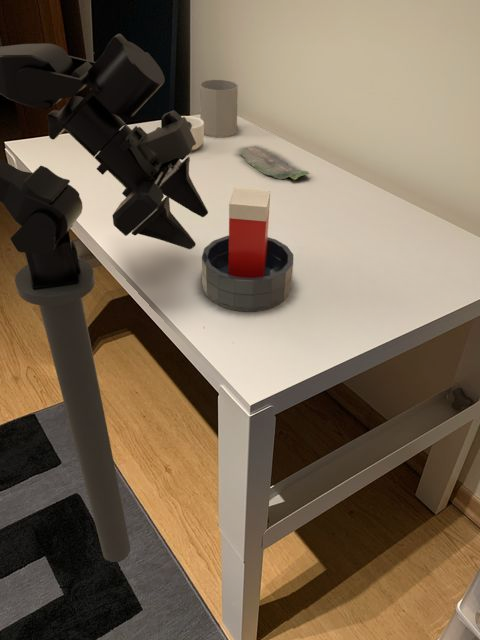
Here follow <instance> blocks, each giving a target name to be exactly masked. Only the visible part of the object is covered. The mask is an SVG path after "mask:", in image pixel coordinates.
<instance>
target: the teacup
mask: <svg viewBox="0 0 480 640" xmlns="http://www.w3.org/2000/svg"><path fill="white" fill-rule="evenodd" d="M180 116H181V117H182V118H183V117H185V118H186V120H187V122H190V123H191V124H192V128H191V129H190V131H191V133H192V135H193V137H194V140H195V142H196V144H195V145H193V147H192V152H193V151H196V150H197V149H198V148H200V147H201V146H202V144H203V142H204V136H205V134H204V122H203V120H202V119H201V117H197V116H190V115H180Z"/></svg>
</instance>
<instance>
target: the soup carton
mask: <svg viewBox="0 0 480 640" xmlns="http://www.w3.org/2000/svg"><path fill="white" fill-rule="evenodd" d="M270 204H271V191H270V190H262V189H261V190H260V189H247V188H237V187H236V188H235V187H234V188H233V191H232V194H231V197H230V200H229V204H228V236H229V275H232V276H236V277H245V278H257V277H264V276H265V272H266V256H267V239H268V237H269V223H270V221H269V220H270Z"/></svg>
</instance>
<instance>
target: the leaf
mask: <svg viewBox="0 0 480 640" xmlns="http://www.w3.org/2000/svg"><path fill="white" fill-rule="evenodd" d="M239 156H241V157H243V158H244V159H245V162H246V163H247V164H249V165H250V166H251V167H253V168H254V169H256V170H257V171H258V172H260V173H262V174H263V175H265V176H270V177H273V178H274V179H275V178H276V179H278V180H284V179H287V178H290V179H292V180H297V179H298V178H300V177H302V176H307V175H311V173H310V172H309V171H307V170H301V169H297V168H296V167H295V166H292V165H289V164H288V163H287V162H286V161H285V160H284V159H282V158H280V157H279V156H278V155H275V154H274V153H272V152H271V151H268V150H266V149H264V148H260V147H257V146H248V147H246V148H243V149H242V150H241V153H240V154H239Z"/></svg>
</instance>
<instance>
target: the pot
mask: <svg viewBox="0 0 480 640" xmlns="http://www.w3.org/2000/svg"><path fill="white" fill-rule="evenodd" d="M202 251H203V252H202V255H201V282H202V289H203V291H204V293H205V295H206V297H207V298H208V299H209V300H210V301H211V302H213V303H214V304H216V305H217V306H220V307H222V308H224V309H227V310H231V311H237V312H247V313H249V312H251V313H252V312H262V311H266V310H270V309H274V308H276V307H278V306H279V305H281V304H283V302H285V301H286V300H287V299H288V297H289V296H290V293H291V290H292V283H293V270H294V253H293V252H292V251H291V249H290V248H289V246H287V245H286V244H284V243H283V242H281V241H279V240H277V239H275V238H272V237H269V236H268V239H267V256H266V272H265V276H264V277H257V278H245V277H236V276H232V275H229V235H225V236H222V237H220V238H217V239H214V240H212V241H211V242H210V243H209V244H208V245H206V246H205V247H204V249H203V250H202Z"/></svg>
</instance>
